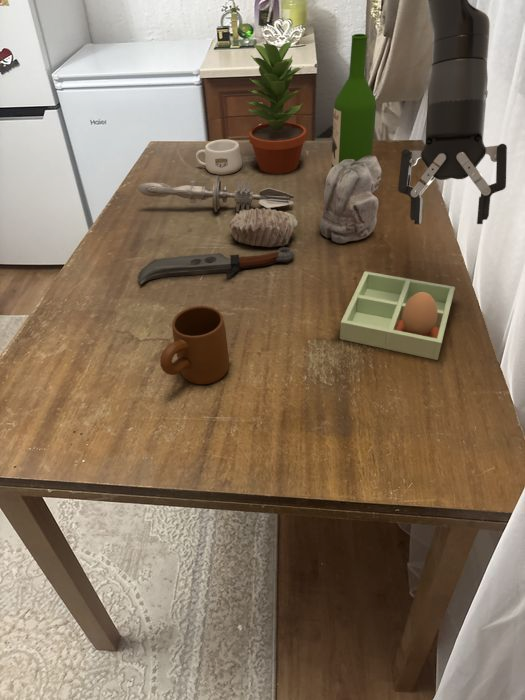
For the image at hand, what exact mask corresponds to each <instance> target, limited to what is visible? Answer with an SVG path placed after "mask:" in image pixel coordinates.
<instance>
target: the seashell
mask: <svg viewBox="0 0 525 700" xmlns="http://www.w3.org/2000/svg"><path fill="white" fill-rule="evenodd" d="M298 224H299V221H298V219H297V218H296V216H295V215H294V214H292V213H289V212H285V211H282V210H277V209H272V208H266V207H262V208H258V207H256V208H255V209H254V208H249V210H246V209H244V210H243V211H241V210H239V211H238V212H235V215H234V216H233V218H232V219H231V221H230V222H229V228H230V233H231V236H232V238H233V239H234V240H235V242H238V243H240V244H244V245H250V246H255V247H263V248H265V247H267V248H275V247H285V246H286V245H288V244H289V242H290V240H291V236H292V234H293V231H294V229H295V228H296V227H297V225H298Z"/></svg>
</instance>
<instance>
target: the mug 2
mask: <svg viewBox="0 0 525 700" xmlns="http://www.w3.org/2000/svg"><path fill="white" fill-rule="evenodd" d="M200 154H205V155H204V156H205V157H204V158H205V159H204V160H205V162H204V161H201V160H200ZM195 160H196V162H197V163H198V164H199V165H200V166H205V169H206V170H207V172H208V173H211V174H212V175H220V176H221V175H231V174H234V173H236V172H239V171H240V170H241V169H242V167H243V159H242V154H241V149H240V143H239V142H238V141H236V140H234V139H226V138H223V139H222V138H221V139H216V140H213V141H209V142H208V143H207V144H206V145H205V147H204V149H199V150H198V151H196V153H195Z"/></svg>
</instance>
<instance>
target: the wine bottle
mask: <svg viewBox="0 0 525 700" xmlns="http://www.w3.org/2000/svg"><path fill="white" fill-rule="evenodd" d="M367 39H368V35H367V34H365V33H355V34H352V35H351V44H350V45H351V46H350V59H349V60H350V61H349V72H348V73H349V75H348V78H347V80H346V81H345V83H344V84H343V86H342V88H341V90H340V91H339V93H338V94H337V96H336V97H335V101H334V105H333V117H332V118H333V119H332V122H333V123H332V141H331V144H332V145H331V168H332V167H334V166H336V165H338V164H339V163H340V162H342V161H343V160H346V159H353V160H355V161H356V162H357V161H358V160H360V159H361V158H363V157H365V156H368V155H373V147H374V138H375V137H374V135H375V126H376V125H375V123H376V114H377V113H376V112H377V101H376V97H375V94H374V93H373V91H372V88H371V87H370V85H369V83H368V81H367V79H366V59H367Z"/></svg>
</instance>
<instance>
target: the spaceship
mask: <svg viewBox="0 0 525 700" xmlns="http://www.w3.org/2000/svg"><path fill="white" fill-rule="evenodd" d="M241 181H242V183H241ZM246 182H247V187H246ZM241 184H242V186H241ZM236 185H237V186H236V189H235V190H234V192H229V191H228V186H223V187H222V182H221V179H220V176H219V175H216V176H215V180H214V181H213V184H212V189H210V188H209V187H208V186H204V185H203V186H202V185H197V182H196V181H195V180H190V181H189V184H186V185H180V186H170V185H169V184H166V183H164V182H152V181H151V182H149V181H147V182H144V183H140V184H139V185H138V186H137V191H138V192H139V193H141V195H145V196H148V197H156V198H157V197H158V198H159V197H160V198H165V197H167V196H171V195H172V196H177V197H180V198H184V199H186V200H187V199H188V200H189V203H190V204H195V203H196V202H197V200H201V201H207V200H208V199H209V198H211V200H212V201H211V203H212V206H213V210H214V212H215V213H218V211H219V210H220V206H221V200H222V203H223V204H226V203H227V201H228V198H229V199H230V198H233V199H234V201H235V204H236V205H235V207H236V210H235V211H236V212H240V211H243V210H250V206H251V203H252V202H253V201H254V200H255V201H258V204H259V205H261V206H262V207H263V208H265V209H269V208H270V209H272V208H273V209H274V208H279V207H285V206H290V205H293V204H294V200H291V199H294V198H295V195H293V194H291V193H287V192H285V191H282V190H280V189H279V190H278V189H275V188H272V187H267V188H264V189H261V190H259V193H254V191H252V187H251V186H252V181H251V180H249V179H248V180H247V181H246V180H245V179H242V180H241V179H238V180H237V184H236ZM245 205H246V207H245ZM240 206H241V208H240Z"/></svg>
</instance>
